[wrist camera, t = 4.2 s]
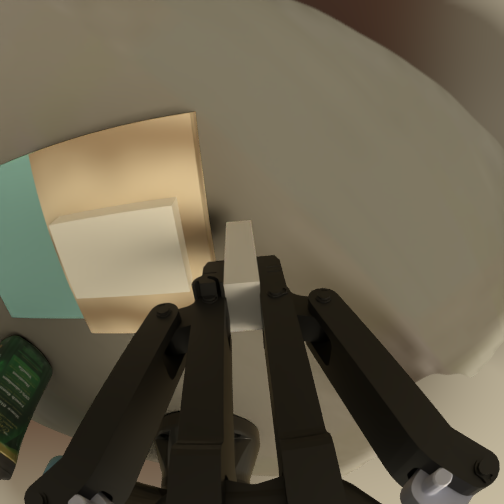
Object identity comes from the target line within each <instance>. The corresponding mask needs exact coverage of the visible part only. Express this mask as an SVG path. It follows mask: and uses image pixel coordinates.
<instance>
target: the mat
mask: <svg viewBox="0 0 504 504" xmlns="http://www.w3.org/2000/svg"><path fill="white" fill-rule="evenodd" d="M40 150H41V149H40ZM37 151H38V150H37ZM32 153H33V152H32ZM29 154H30V153H29ZM0 296H1V298H2V300H3V302H4V304H5V305H6V307H7V309H8V311H9V313H10V315H11V316H12V317H14V318H84V317H83V315H82V312H81V310H80V308H79V306H78V304H77V302H76V300H75V297H74V295H73V293H72V291H71V288H70V286H69V284H68V281H67V279H66V277H65V274H64V272H63V269H62V267H61V264H60V261H59V259H58V256H57V254H56V251H55V248H54V245H53V242H52V240H51V237H50V234H49V231H48V228H47V225H46V221H45V218H44V215H43V212H42V208H41V205H40V201H39V198H38V194H37V190H36V186H35V182H34V178H33V174H32V170H31V165H30V160H29V155H28V154H27V155H24V156H22V157H19V158H17V159H14V160H12V161H9V162H7V163H5V164H2V165H0Z"/></svg>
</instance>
